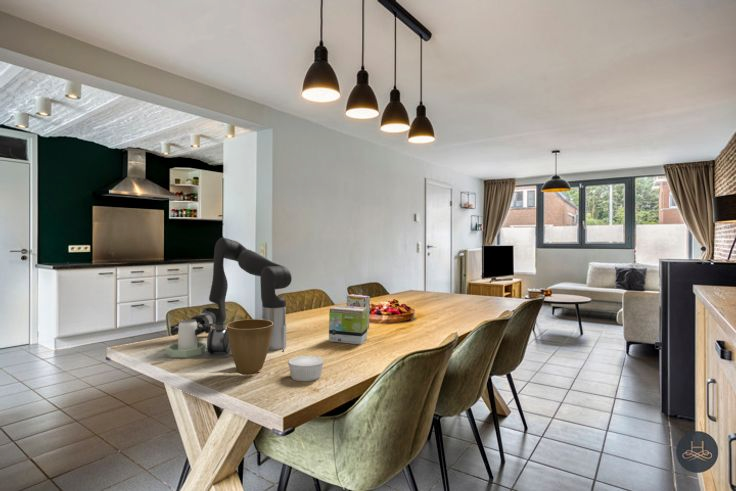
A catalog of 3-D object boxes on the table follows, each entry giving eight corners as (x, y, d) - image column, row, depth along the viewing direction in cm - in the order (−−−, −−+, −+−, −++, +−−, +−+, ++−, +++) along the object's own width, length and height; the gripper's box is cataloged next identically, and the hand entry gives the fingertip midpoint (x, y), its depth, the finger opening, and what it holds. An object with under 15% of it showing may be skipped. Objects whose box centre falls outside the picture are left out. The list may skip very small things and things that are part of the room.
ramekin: (285, 373, 131) (285, 357, 131) (318, 369, 135) (318, 354, 135) (291, 384, 120) (291, 367, 120) (327, 380, 124) (327, 364, 124)
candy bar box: (345, 327, 202) (346, 295, 201) (351, 325, 206) (351, 294, 206) (364, 330, 196) (364, 297, 195) (369, 328, 200) (370, 296, 200)
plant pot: (218, 370, 132) (218, 322, 132) (258, 361, 142) (259, 317, 142) (239, 382, 121) (239, 330, 121) (281, 372, 132) (281, 324, 131)
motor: (232, 349, 154) (233, 321, 154) (225, 355, 145) (226, 326, 145) (214, 349, 154) (215, 321, 154) (206, 355, 145) (207, 326, 145)
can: (190, 355, 145) (190, 322, 145) (174, 354, 146) (174, 321, 146) (200, 350, 152) (201, 319, 151) (185, 349, 153) (185, 318, 153)
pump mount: (237, 349, 157) (237, 341, 157) (226, 360, 143) (226, 350, 143) (175, 349, 156) (175, 341, 156) (158, 360, 142) (158, 350, 142)
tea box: (328, 342, 171) (328, 308, 171) (335, 337, 181) (336, 304, 181) (361, 345, 168) (362, 310, 168) (367, 339, 178) (368, 306, 177)
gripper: (182, 314, 163) (164, 322, 146) (218, 314, 164) (204, 322, 147) (182, 332, 163) (164, 342, 147) (217, 332, 164) (203, 342, 147)
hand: (184, 332), depth 147 cm, fingers open, 8 cm apart
